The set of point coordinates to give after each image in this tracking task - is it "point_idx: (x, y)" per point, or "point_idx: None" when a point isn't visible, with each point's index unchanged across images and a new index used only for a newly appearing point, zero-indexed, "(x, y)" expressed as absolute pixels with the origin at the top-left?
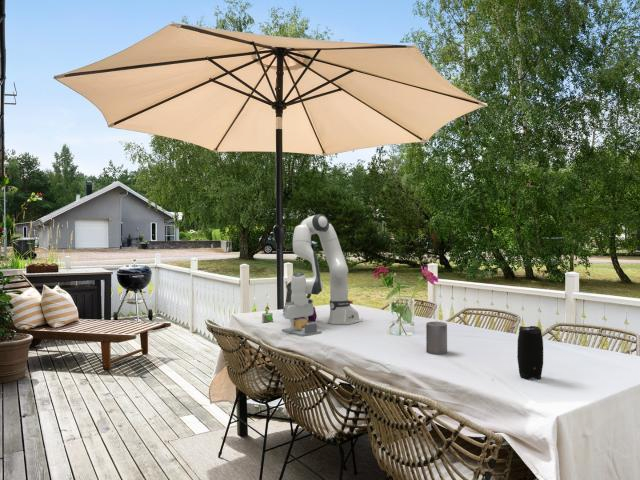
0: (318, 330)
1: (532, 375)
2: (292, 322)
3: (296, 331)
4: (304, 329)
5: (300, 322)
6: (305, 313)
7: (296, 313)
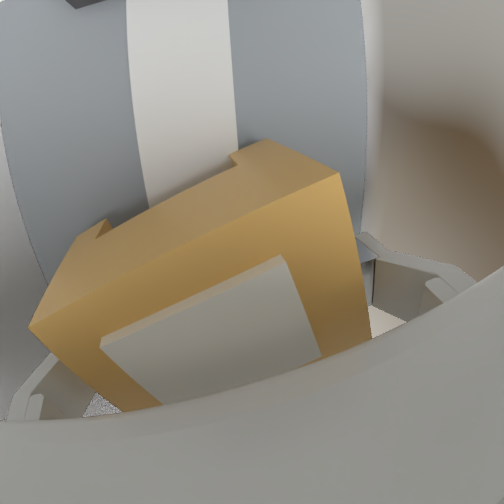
0: (2, 57)
1: None
2: (412, 263)
3: (311, 150)
4: (223, 62)
5: (305, 167)
6: (49, 491)
7: (500, 408)
